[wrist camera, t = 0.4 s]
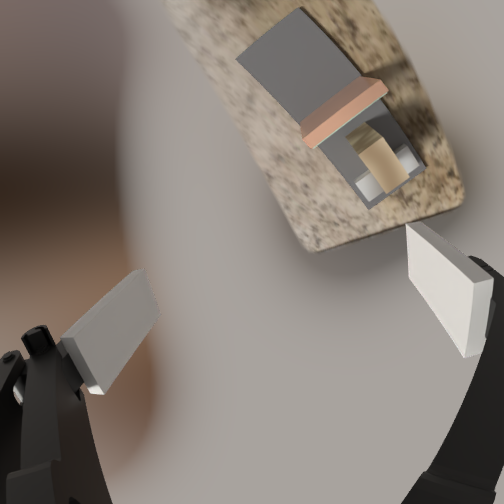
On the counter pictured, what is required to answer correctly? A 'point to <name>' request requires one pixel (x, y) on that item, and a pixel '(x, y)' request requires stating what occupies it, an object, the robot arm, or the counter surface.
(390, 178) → the upright block with backplate
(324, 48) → the mat
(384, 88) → the tile
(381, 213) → the counter surface
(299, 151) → the counter surface
